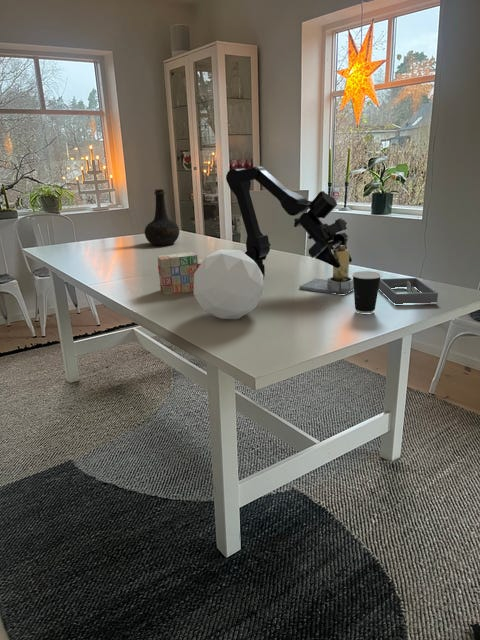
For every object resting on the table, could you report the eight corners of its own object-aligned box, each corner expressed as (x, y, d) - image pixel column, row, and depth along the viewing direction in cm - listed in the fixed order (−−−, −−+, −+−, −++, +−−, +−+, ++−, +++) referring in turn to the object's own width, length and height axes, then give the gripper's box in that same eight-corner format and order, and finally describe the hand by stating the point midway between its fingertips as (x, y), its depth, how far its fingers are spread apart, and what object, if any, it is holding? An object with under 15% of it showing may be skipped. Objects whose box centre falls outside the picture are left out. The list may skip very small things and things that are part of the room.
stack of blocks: (219, 283, 173) (217, 249, 169) (224, 287, 167) (223, 252, 163) (160, 290, 166) (157, 255, 162) (163, 295, 161) (160, 258, 157)
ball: (215, 343, 136) (167, 292, 129) (238, 300, 150) (196, 252, 143) (265, 321, 124) (215, 263, 117) (285, 277, 138) (242, 223, 131)
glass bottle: (141, 247, 247) (135, 191, 237) (152, 241, 263) (147, 188, 254) (174, 247, 244) (170, 190, 235) (184, 241, 260) (180, 187, 251)
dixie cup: (344, 312, 136) (346, 274, 133) (360, 306, 141) (362, 269, 138) (369, 318, 131) (371, 279, 127) (384, 311, 136) (387, 273, 132)
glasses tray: (394, 305, 140) (395, 294, 139) (378, 289, 158) (378, 279, 156) (436, 304, 140) (438, 293, 139) (415, 288, 157) (416, 277, 156)
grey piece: (299, 289, 161) (299, 278, 160) (315, 281, 170) (315, 271, 169) (344, 295, 152) (344, 284, 151) (359, 286, 162) (359, 276, 160)
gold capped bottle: (338, 289, 156) (339, 247, 151) (329, 285, 160) (330, 245, 156) (351, 287, 158) (352, 246, 153) (341, 283, 162) (343, 243, 158)
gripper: (318, 214, 146) (351, 253, 143) (343, 207, 160) (373, 243, 158) (295, 238, 153) (326, 276, 150) (321, 230, 167) (350, 264, 165)
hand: (345, 264), depth 156 cm, fingers open, 9 cm apart
